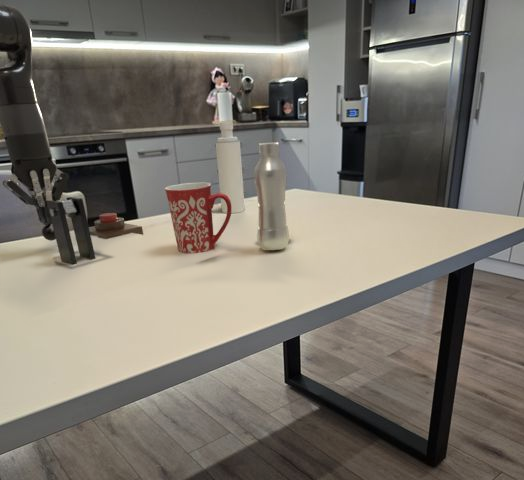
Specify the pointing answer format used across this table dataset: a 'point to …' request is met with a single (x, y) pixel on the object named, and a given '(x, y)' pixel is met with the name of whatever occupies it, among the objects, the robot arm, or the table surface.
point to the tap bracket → (64, 235)
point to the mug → (194, 216)
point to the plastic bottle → (271, 198)
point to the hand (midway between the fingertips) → (48, 224)
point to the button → (108, 217)
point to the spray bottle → (230, 168)
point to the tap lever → (69, 212)
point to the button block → (113, 229)
